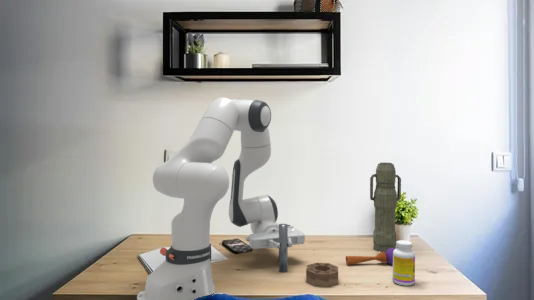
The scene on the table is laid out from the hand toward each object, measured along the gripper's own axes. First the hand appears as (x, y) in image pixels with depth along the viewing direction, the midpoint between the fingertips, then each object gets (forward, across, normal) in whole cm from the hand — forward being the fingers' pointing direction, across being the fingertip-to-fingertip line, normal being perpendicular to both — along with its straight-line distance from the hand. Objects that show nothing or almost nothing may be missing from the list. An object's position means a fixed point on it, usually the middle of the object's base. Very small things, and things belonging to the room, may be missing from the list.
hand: (284, 245), depth 131 cm
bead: (+11, +9, +9) cm, 17 cm away
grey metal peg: (-1, 0, +9) cm, 9 cm away
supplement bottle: (+20, +33, +9) cm, 40 cm away
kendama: (+3, +33, +9) cm, 35 cm away
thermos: (-10, +47, +9) cm, 49 cm away
